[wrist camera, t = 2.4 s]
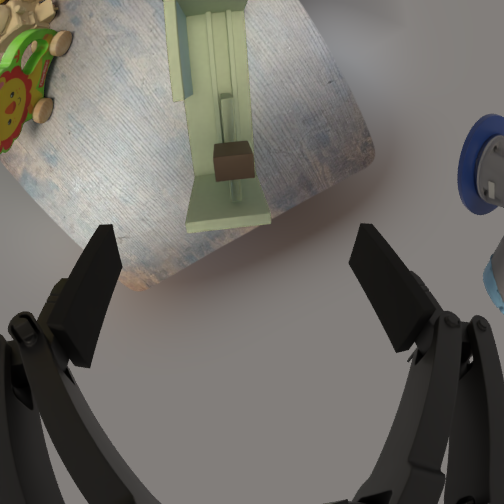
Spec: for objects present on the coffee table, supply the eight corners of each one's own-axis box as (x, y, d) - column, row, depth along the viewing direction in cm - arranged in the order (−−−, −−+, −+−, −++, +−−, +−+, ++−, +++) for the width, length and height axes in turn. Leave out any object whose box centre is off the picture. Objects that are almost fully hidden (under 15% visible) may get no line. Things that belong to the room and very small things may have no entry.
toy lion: (49, 30, 20) (-21, 28, 7) (77, 32, 21) (9, 23, 9) (24, 130, 28) (-42, 167, 15) (49, 135, 29) (-17, 175, 17)
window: (237, 91, 29) (249, 100, 17) (243, 166, 35) (257, 223, 23) (212, 94, 29) (206, 105, 17) (220, 169, 35) (221, 227, 23)
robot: (54, -17, 14) (-6, -35, 2) (64, 17, 19) (-3, 7, 7) (5, 24, 15) (-59, 28, 3) (13, 59, 20) (-55, 72, 8)
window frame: (242, 5, 24) (255, -33, 12) (254, 174, 38) (271, 224, 26) (177, 13, 23) (152, -21, 12) (196, 180, 37) (187, 233, 26)
